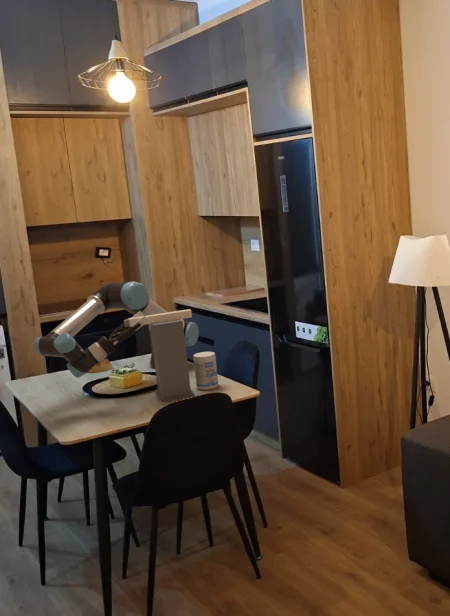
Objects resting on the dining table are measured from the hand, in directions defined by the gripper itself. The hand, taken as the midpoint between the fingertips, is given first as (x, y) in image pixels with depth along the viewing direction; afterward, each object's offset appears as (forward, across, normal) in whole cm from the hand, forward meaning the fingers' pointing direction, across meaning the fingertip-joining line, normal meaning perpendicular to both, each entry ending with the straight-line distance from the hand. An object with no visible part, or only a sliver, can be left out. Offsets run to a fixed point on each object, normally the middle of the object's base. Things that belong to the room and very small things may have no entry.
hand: (144, 315), depth 266 cm
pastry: (-35, -66, -21) cm, 77 cm away
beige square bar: (+4, 0, -6) cm, 7 cm away
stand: (-10, 0, -35) cm, 36 cm away
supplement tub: (+3, -2, -42) cm, 43 cm away
